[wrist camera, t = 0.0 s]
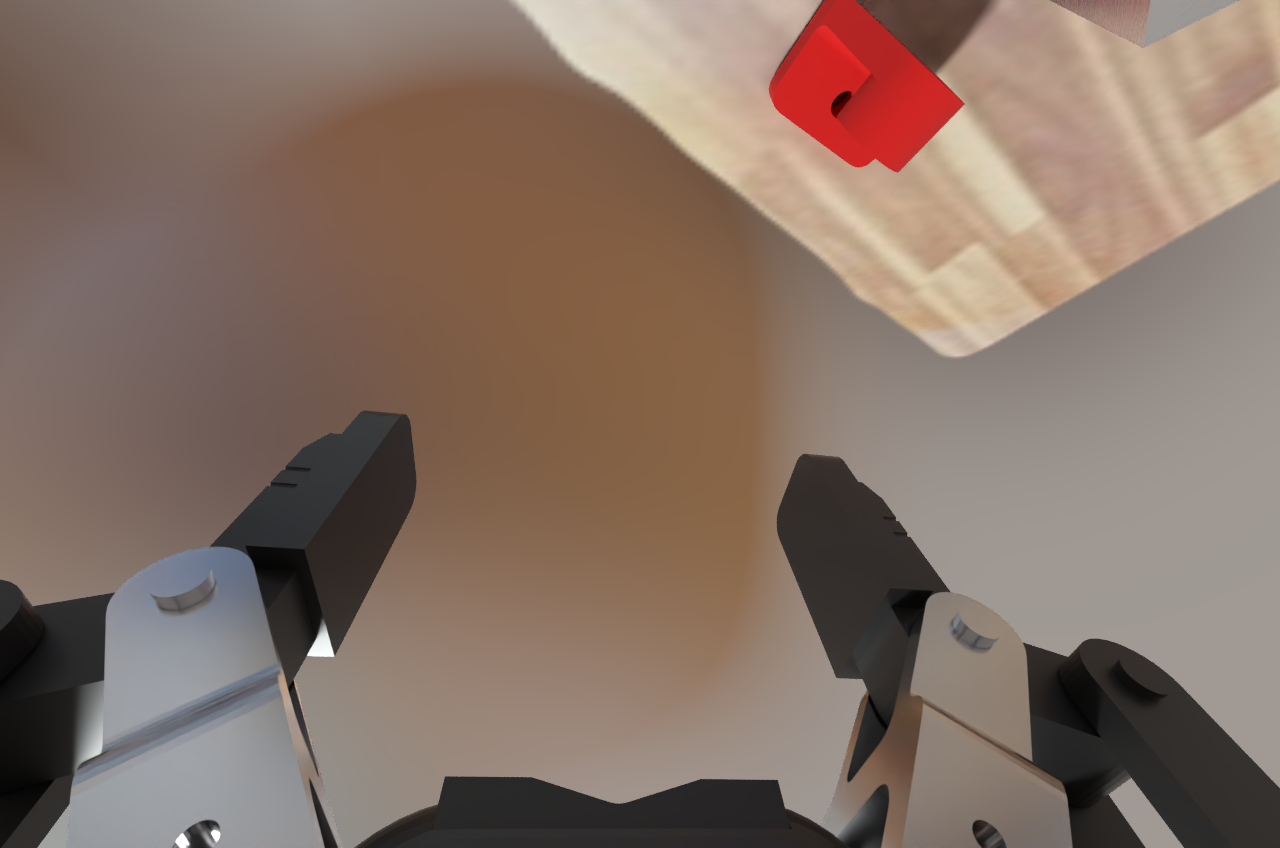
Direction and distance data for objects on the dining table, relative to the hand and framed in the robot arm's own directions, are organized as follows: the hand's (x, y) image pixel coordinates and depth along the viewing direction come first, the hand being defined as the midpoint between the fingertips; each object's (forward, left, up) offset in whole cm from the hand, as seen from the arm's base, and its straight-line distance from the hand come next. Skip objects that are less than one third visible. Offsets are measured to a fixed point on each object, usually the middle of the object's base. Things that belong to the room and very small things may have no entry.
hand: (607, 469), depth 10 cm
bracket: (+9, +10, -32) cm, 35 cm away
